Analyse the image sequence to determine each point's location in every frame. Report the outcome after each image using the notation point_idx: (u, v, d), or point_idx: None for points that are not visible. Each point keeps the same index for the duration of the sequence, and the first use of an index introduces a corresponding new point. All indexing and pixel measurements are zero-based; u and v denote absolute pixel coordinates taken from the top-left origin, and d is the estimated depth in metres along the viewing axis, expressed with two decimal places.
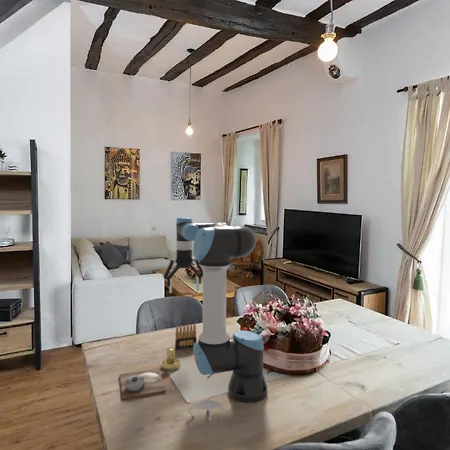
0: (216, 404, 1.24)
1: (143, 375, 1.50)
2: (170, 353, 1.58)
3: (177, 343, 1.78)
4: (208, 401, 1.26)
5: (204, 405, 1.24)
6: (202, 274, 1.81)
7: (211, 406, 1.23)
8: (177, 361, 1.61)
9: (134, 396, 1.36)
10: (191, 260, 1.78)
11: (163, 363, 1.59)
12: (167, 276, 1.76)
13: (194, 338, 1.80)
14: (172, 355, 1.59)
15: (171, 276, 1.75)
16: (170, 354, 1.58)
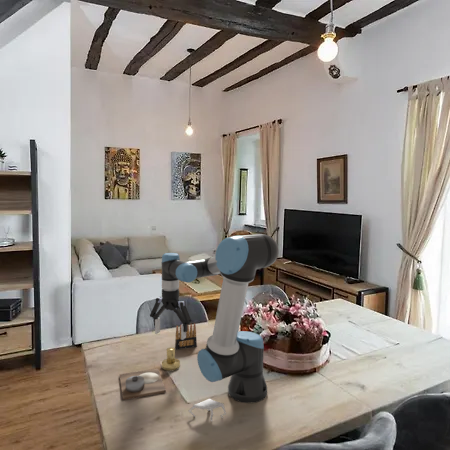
0: (217, 404, 1.24)
1: (143, 375, 1.50)
2: (170, 353, 1.58)
3: (177, 343, 1.78)
4: (209, 401, 1.26)
5: (205, 405, 1.23)
6: (186, 322, 1.54)
7: (212, 406, 1.23)
8: (177, 361, 1.61)
9: (134, 396, 1.36)
10: (175, 303, 1.56)
11: (163, 363, 1.59)
12: None
13: (194, 338, 1.80)
14: (172, 355, 1.59)
15: (156, 315, 1.60)
16: (170, 354, 1.58)
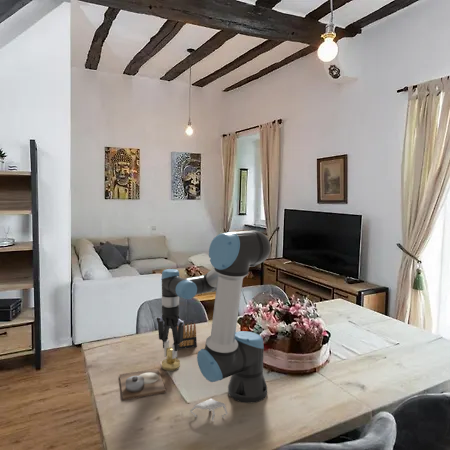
0: (219, 404, 1.24)
1: (143, 375, 1.50)
2: (170, 353, 1.58)
3: None
4: (210, 401, 1.26)
5: (207, 405, 1.23)
6: (178, 341, 1.56)
7: (214, 406, 1.23)
8: (177, 361, 1.61)
9: (134, 396, 1.36)
10: (175, 319, 1.56)
11: (163, 363, 1.59)
12: None
13: (194, 338, 1.80)
14: None
15: (164, 337, 1.59)
16: (170, 354, 1.58)
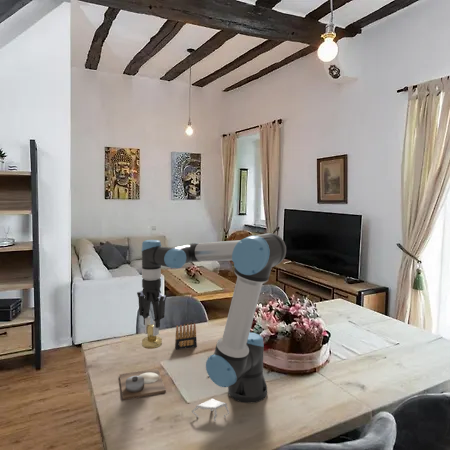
0: (220, 404, 1.24)
1: (143, 375, 1.50)
2: (151, 330, 1.47)
3: (177, 343, 1.78)
4: (212, 401, 1.26)
5: (209, 405, 1.23)
6: (159, 316, 1.45)
7: (216, 406, 1.23)
8: (158, 339, 1.50)
9: (134, 396, 1.36)
10: (156, 294, 1.45)
11: (143, 340, 1.49)
12: None
13: (194, 338, 1.80)
14: None
15: (144, 313, 1.49)
16: (151, 331, 1.47)
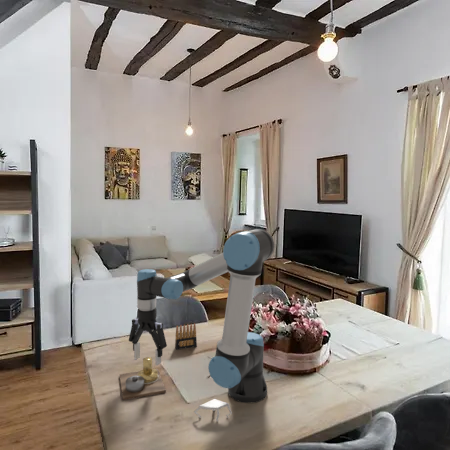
0: (223, 404, 1.24)
1: None
2: (146, 363, 1.46)
3: (177, 343, 1.78)
4: (214, 401, 1.26)
5: (211, 405, 1.23)
6: (161, 346, 1.43)
7: (218, 406, 1.23)
8: (154, 372, 1.49)
9: (134, 396, 1.36)
10: (152, 324, 1.44)
11: (139, 374, 1.47)
12: None
13: (194, 338, 1.80)
14: (149, 365, 1.47)
15: (135, 340, 1.48)
16: (147, 364, 1.46)
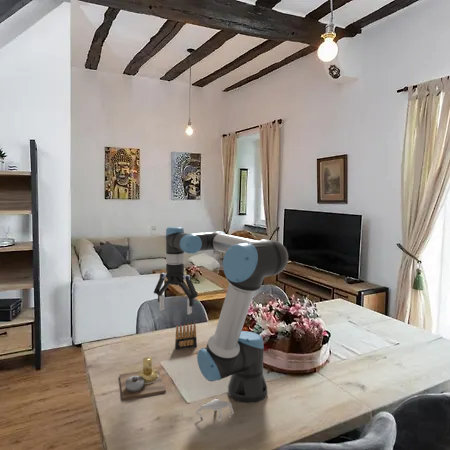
0: (225, 404, 1.24)
1: None
2: (146, 363, 1.46)
3: (177, 343, 1.78)
4: (216, 401, 1.26)
5: (213, 405, 1.23)
6: (192, 296, 1.51)
7: (220, 406, 1.23)
8: (154, 372, 1.49)
9: (134, 396, 1.36)
10: (181, 277, 1.53)
11: (139, 374, 1.47)
12: (159, 291, 1.59)
13: (194, 338, 1.80)
14: (149, 365, 1.47)
15: (160, 292, 1.57)
16: (147, 364, 1.46)
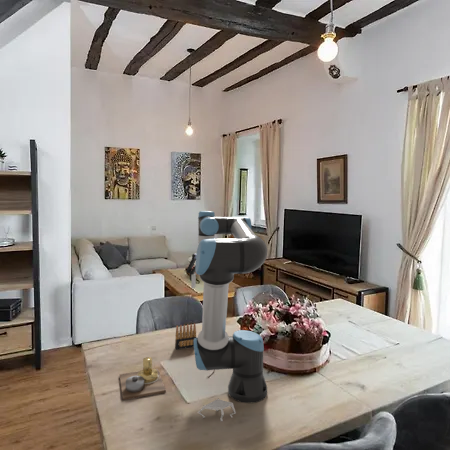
0: (227, 404, 1.24)
1: None
2: (146, 363, 1.46)
3: (177, 343, 1.78)
4: (218, 401, 1.26)
5: (215, 405, 1.23)
6: None
7: (222, 406, 1.23)
8: (154, 372, 1.49)
9: (134, 396, 1.36)
10: None
11: (139, 374, 1.47)
12: None
13: (194, 338, 1.80)
14: (149, 365, 1.46)
15: (192, 271, 1.70)
16: (147, 364, 1.46)
